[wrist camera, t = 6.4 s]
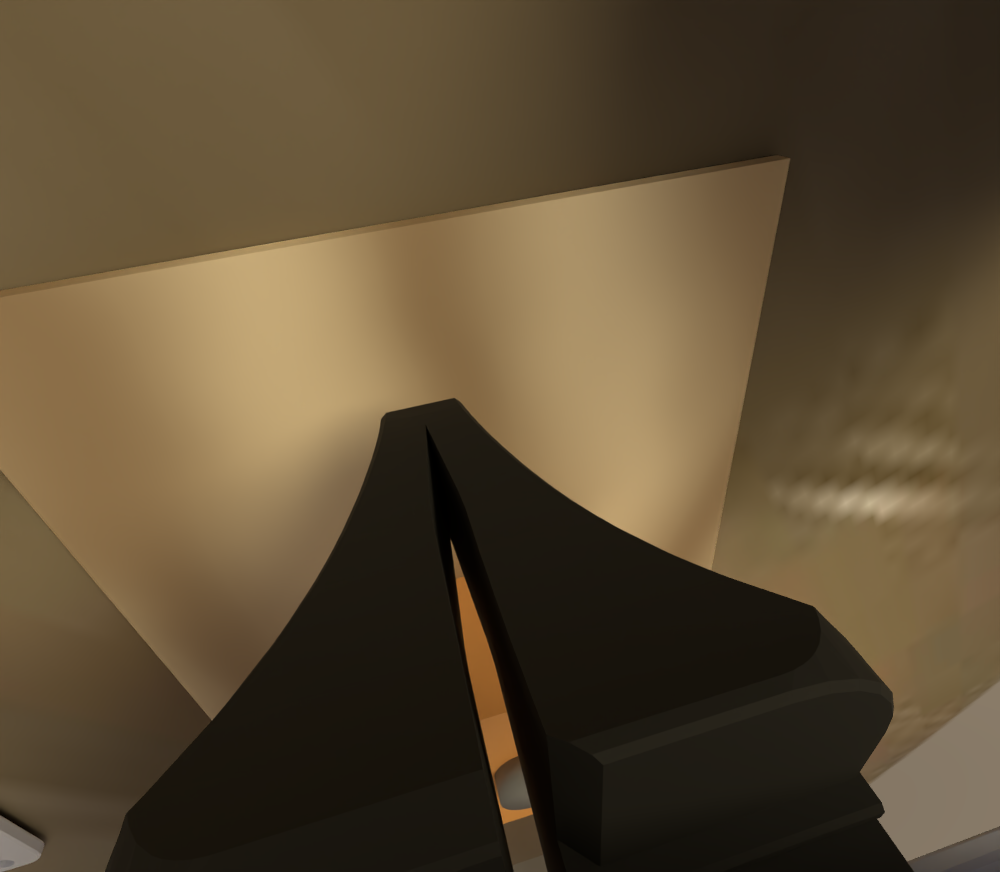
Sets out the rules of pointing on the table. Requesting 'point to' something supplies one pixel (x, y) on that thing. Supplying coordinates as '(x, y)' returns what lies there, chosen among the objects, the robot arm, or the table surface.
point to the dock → (382, 392)
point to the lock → (492, 714)
